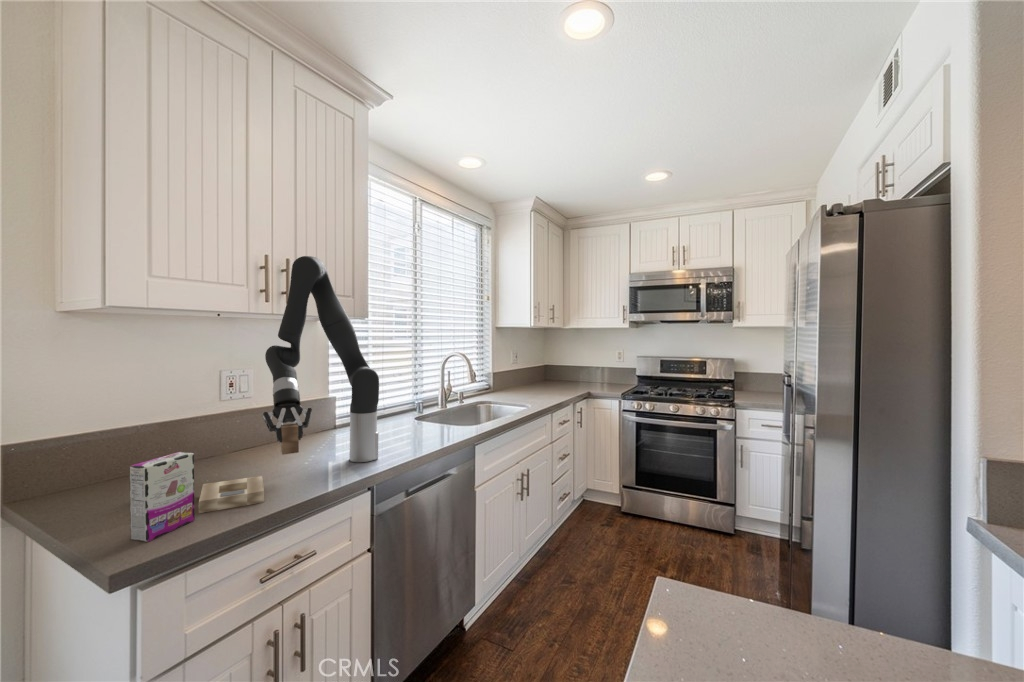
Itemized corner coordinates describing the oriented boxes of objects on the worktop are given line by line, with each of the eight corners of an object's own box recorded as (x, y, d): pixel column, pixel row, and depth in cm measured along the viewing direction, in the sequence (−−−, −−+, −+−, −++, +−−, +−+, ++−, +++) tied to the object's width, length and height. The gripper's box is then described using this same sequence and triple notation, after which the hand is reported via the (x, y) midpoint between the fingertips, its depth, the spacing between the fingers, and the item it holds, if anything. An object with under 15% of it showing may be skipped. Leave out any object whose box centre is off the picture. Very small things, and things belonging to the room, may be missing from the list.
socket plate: (261, 485, 125) (261, 475, 125) (263, 502, 113) (264, 490, 113) (203, 494, 117) (203, 483, 117) (198, 513, 105) (198, 500, 105)
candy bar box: (178, 518, 102) (178, 451, 102) (195, 520, 101) (195, 452, 101) (127, 540, 91) (128, 464, 91) (146, 543, 90) (147, 466, 90)
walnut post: (297, 448, 132) (296, 423, 131) (298, 452, 128) (298, 426, 128) (281, 451, 129) (280, 425, 129) (282, 454, 126) (281, 427, 125)
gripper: (260, 389, 131) (262, 436, 121) (311, 385, 138) (317, 429, 128) (260, 403, 135) (262, 450, 125) (309, 399, 143) (315, 443, 133)
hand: (290, 439), depth 127 cm, fingers closed on walnut post, 4 cm apart
